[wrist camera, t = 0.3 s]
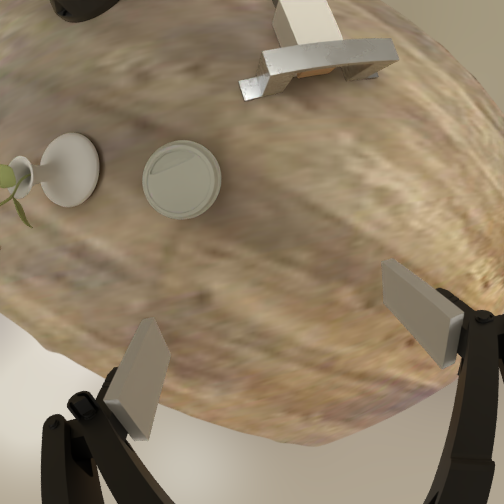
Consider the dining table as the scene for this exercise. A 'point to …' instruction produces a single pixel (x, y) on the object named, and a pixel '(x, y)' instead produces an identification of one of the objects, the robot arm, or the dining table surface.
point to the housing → (319, 63)
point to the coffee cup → (181, 179)
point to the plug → (304, 26)
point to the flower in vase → (55, 173)
